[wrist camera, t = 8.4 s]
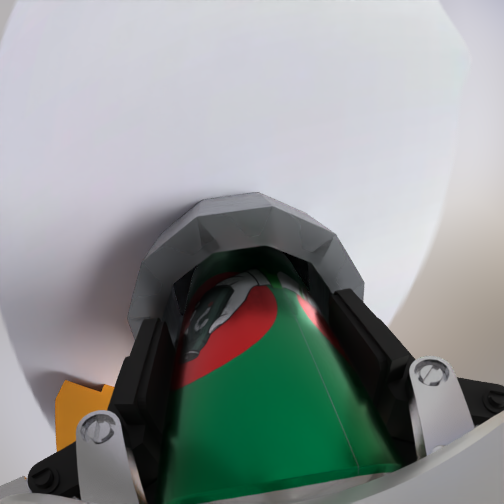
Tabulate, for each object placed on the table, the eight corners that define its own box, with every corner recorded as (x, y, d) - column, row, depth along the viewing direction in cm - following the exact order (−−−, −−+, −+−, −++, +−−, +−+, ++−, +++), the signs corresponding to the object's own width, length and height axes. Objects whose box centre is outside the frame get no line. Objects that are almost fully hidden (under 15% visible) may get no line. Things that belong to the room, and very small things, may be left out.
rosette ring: (130, 212, 12) (102, 233, 9) (329, 184, 13) (365, 196, 9) (174, 369, 15) (168, 415, 12) (330, 345, 16) (352, 385, 12)
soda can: (181, 316, 14) (147, 567, 3) (206, 222, 13) (159, 545, 1) (274, 337, 15) (338, 560, 4) (310, 252, 14) (480, 480, 2)
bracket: (81, 429, 17) (50, 547, 5) (69, 371, 15) (7, 523, 3) (208, 458, 19) (216, 583, 7) (227, 409, 17) (246, 580, 5)
